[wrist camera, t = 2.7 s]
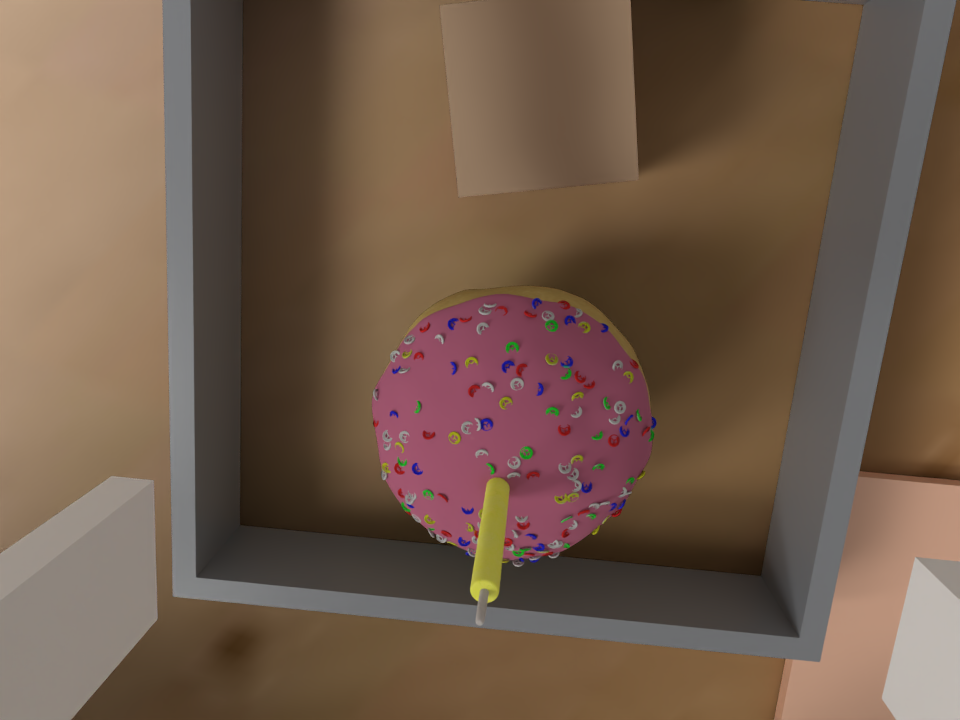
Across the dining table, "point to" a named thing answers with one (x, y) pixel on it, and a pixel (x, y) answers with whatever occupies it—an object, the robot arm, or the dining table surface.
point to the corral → (550, 581)
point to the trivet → (872, 595)
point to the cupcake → (512, 425)
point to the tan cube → (540, 93)
